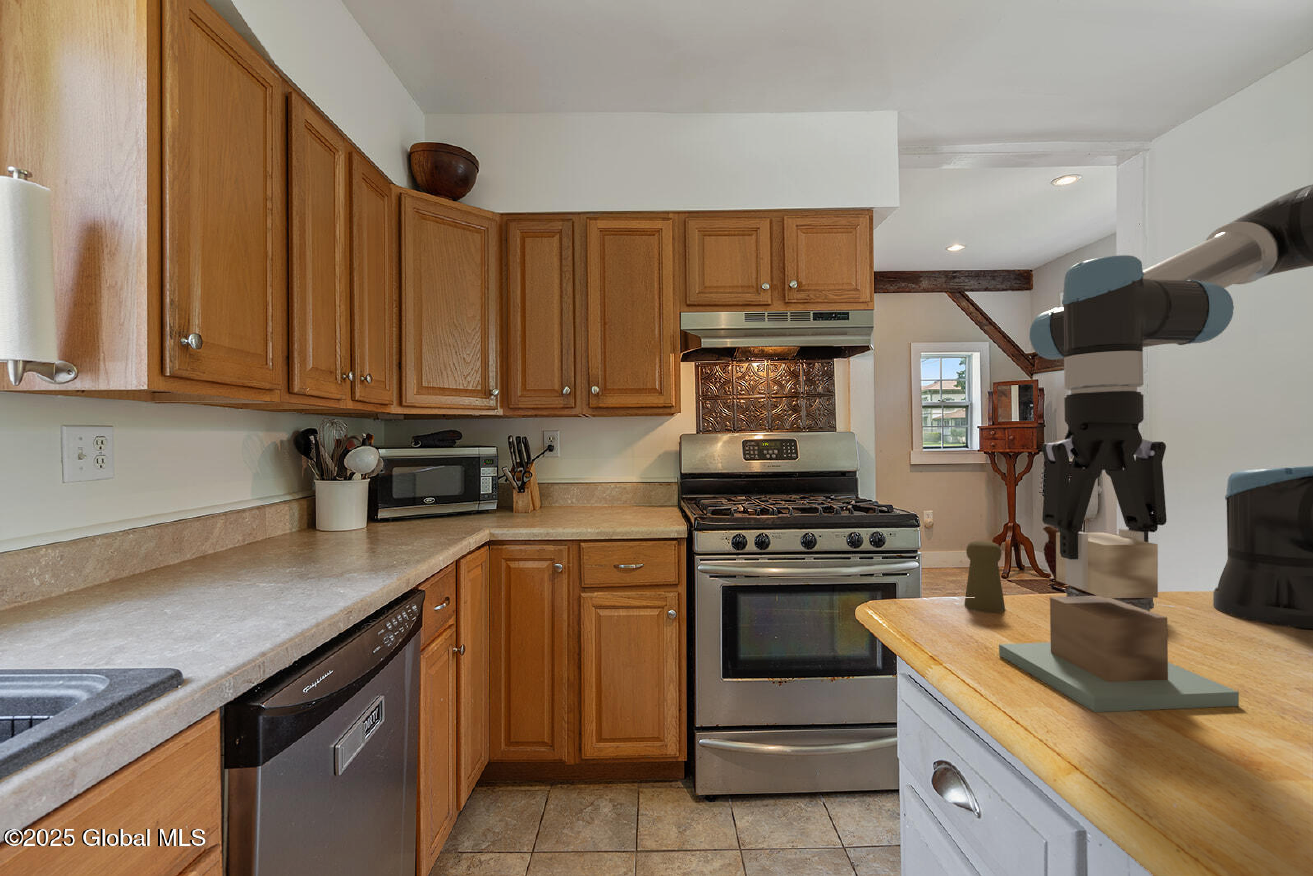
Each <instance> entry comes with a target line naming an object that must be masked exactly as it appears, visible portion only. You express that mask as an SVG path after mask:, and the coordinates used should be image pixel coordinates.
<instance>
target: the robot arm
mask: <svg viewBox="0 0 1313 876" xmlns="http://www.w3.org/2000/svg"><path fill="white" fill-rule="evenodd" d="M1309 267H1310V268H1311V267H1313V183H1312V184H1310V185H1307V186H1304V187H1300V188H1298V189H1295V190H1292V191H1290V192H1288V193H1286V194H1284V195H1281V196H1279V197H1277V198H1276V199H1273V200H1271V201H1269V202H1267V203H1264V204H1263V205H1261V206H1259V207H1257V208H1255V209H1253V210H1252V211H1249V212H1248V213H1246V214H1244V215H1242V216H1239V217H1237V218H1236V219H1234V220H1232V221H1230V222H1228V223H1225V224H1224V225H1222V226H1220V227H1218V228H1216V229H1215V230H1213V231H1212V233H1210V234H1209V235H1208V236H1207V238H1206V239H1205V241H1204V242H1201V243H1199V244H1197V245H1195V246H1192V247H1191V248H1189V249H1186V250H1184V251H1181V252H1180V253H1178V254H1176V255H1174V256H1172V257H1169V258H1167V259H1165V260H1163V261H1160V262H1159V263H1156V264H1154V265H1152V266H1150V267H1148V268H1146V269H1143V263H1142V261H1141V260H1140V258H1138V257H1136V256H1134V255H1127V254H1126V255H1125V254H1123V255H1120V254H1119V255H1109V256H1103V257H1097V258H1092V259H1088V260H1085V261H1081V262H1078V263H1076V264H1074V265H1072V266H1071V267H1069V268H1068V269H1067V271H1065V275H1064V281H1063V282H1064V283H1063V293H1062V295H1063V296H1062V300H1061V304H1062V307H1061V306H1056V307H1054V308H1052V309H1051V310H1047V311H1045V312H1042V313H1040V314H1039V315H1037V316H1036V317H1035V319H1033V321H1032V323H1031V325H1030V328H1029V341H1030V343H1031V344H1030V345H1031V346H1032V349H1033V350H1034V352H1035V353H1036V354H1037V355H1038V356H1040V357H1041V358H1044V359H1046V360H1053V361H1055V360H1063V365H1064V367H1063V369H1064V371H1063V372H1064V373H1063V375H1064V379H1063V380H1064V389H1065V390H1067V391H1070V393H1069V394H1067V395H1066V397H1064V398H1063V400H1064V403H1063V404H1064V422H1065V424H1066V425H1067V426H1068V427H1067V432H1066V435H1065V437H1064V439H1062V440H1060V441H1056V442H1045V443H1043V444H1042V445H1041V450H1042V451H1041V452H1042V455H1043V458H1044V461H1045V466H1044V467H1045V469H1044V485H1043V487H1044V488H1043V502H1042V503H1043V505H1042V506H1043V507H1042V518H1041V519H1042V523H1043V524H1044V525H1046V526H1052V527H1054V528H1056V529H1058V530H1059V532H1060V554H1061V557H1063V558H1065V584H1066V585H1067V584H1068V585H1067V586H1069V585H1071V586H1074V587H1077V588H1080V589H1088V533H1089V532H1084V531H1082V528H1083V524H1084V521H1085V518H1086V515H1087V512H1088V511H1087V510H1088V508H1089V506H1090V505H1089V504H1090V501H1091V499H1092V495H1093V491H1094V488H1095V484H1096V481H1097V480H1098V478H1100V477H1101V475H1102V473H1103V471H1105V474H1106V475H1107V476H1108V477H1109V478H1110V481H1111V483H1112V486H1113V489H1114V493H1115V496H1116V500H1117V503H1118V506H1119V509H1120V512H1121V515H1122V518H1123V522H1124V524H1125V528H1118V535H1119V536H1121V537H1126V538H1131V539H1135V540H1140V541H1145V542H1149V533H1155V532H1157V531H1158V529H1159V526H1164V525H1165V524H1166V523H1167V509H1166V495H1165V482H1164V480H1165V479H1164V468H1163V460H1164V456H1165V453H1166V449H1167V445H1166V444H1165V442H1163V441H1152V440H1148V439H1144V438H1143V437H1142V434H1141V432H1140V429H1139V425H1140V423H1141V424H1142V422H1143V421H1144V419H1145V418H1144V417H1145V416H1144V413H1145V412H1144V411H1145V409H1144V408H1145V407H1144V394H1142V391H1138V388H1140V387H1142V386H1144V385H1145V384H1144V383H1145V382H1144V348H1147V347H1153V346H1161V345H1171V344H1174V345H1177V346H1184V345H1185V346H1186V345H1190V344H1201V343H1205V342H1208V341H1209V342H1210V341H1211V340H1213V339H1215V338H1216V337H1218V336H1219V335H1221V334H1222V333H1223V332H1224V331H1225V330H1226V329H1227V327H1228V326H1229V324H1230V323H1231V321H1232V318H1233V317H1234V316H1233V315H1234V309H1235V307H1234V300H1233V298H1232V295H1231V294H1230V292H1229V291H1228V290H1227V289H1226V288H1228V287H1229V286H1230V287H1231V286H1232V285H1247V284H1250V283H1253V282H1255V281H1258V280H1259V279H1263V278H1264V277H1268V276H1270V275H1274V274H1278V273H1283V272H1284V273H1285V272H1288V271H1289V272H1290V271H1293V270H1300V269H1304V268H1309ZM1071 457H1072V460H1070V458H1071ZM1070 461H1071V462H1070ZM1224 497H1225V498H1224V500H1225V501H1226V542H1227V558H1226V559H1227V560H1226V562H1225V566H1224V567H1223V570H1222V573H1221V575H1220V578H1219V580H1218V583H1217V587H1215V588H1214V590H1213V593H1212V597H1213V598H1212V599H1213V601H1212V602H1213V603H1212V605H1213V607H1214V608H1215V609H1217V610H1219V611H1221V612H1223V613H1226V614H1228V615H1232V616H1235V617H1238V618H1243V619H1247V620H1252V621H1257V622H1260V623H1266V624H1271V625H1279V626H1285V627H1290V628H1291V627H1292V628H1301V629H1302V628H1303V629H1312V630H1313V466H1308V465H1307V466H1291V467H1276V468H1273V467H1272V468H1259V469H1258V468H1257V469H1256V468H1255V469H1247V470H1246V469H1244V470H1237V471H1234V472H1233V473H1231V474H1230V475H1229V476H1228V478H1227V484H1226V494H1225V495H1224ZM1126 527H1127V528H1126Z"/></svg>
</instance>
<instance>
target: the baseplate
mask: <svg viewBox="0 0 1313 876" xmlns="http://www.w3.org/2000/svg"><path fill="white" fill-rule="evenodd" d="M999 655H1000V656H999ZM998 656H999V657H1001V658H1003V659H1004V660H1006V659H1007V660H1006V661H1008V662H1009V661H1010V663H1011V664H1012V665H1014V664H1015V666H1016V665H1017V666H1016V667H1018V668H1020V669H1021V670H1023V671H1025V672H1026V673H1028V674H1029V673H1030V675H1031V676H1032V677H1035V678H1036V679H1038V680H1040V681H1041V682H1043V683H1044V684H1046V685H1048V686H1050V687H1051V688H1053V689H1055V690H1056V691H1058V692H1060V693H1062V694H1063V695H1065V696H1066V697H1068V698H1070V699H1072V700H1074V701H1075V702H1076V703H1078V704H1080V705H1081V706H1083V707H1085V708H1087V709H1089V710H1090V711H1092V712H1094V713H1101V712H1102V713H1104V712H1124V711H1126V712H1127V711H1128V712H1129V711H1146V710H1147V711H1149V710H1150V711H1153V710H1171V709H1172V710H1173V709H1175V710H1176V709H1195V708H1196V709H1197V708H1198V709H1199V708H1200V709H1201V708H1220V707H1221V708H1222V707H1223V708H1224V707H1240V693H1239V691H1238V690H1235V689H1233V688H1231V687H1228V686H1225V685H1223V684H1221V683H1219V682H1217V681H1215V680H1212V679H1209V678H1206V677H1204V676H1201V675H1200V674H1198V673H1195V672H1192V671H1190V670H1187V669H1185V668H1183V667H1181V666H1178V665H1175V664H1173V663H1171V662H1169V661H1168V680H1147V681H1120V682H1107V681H1105V680H1103V679H1101V678H1099V677H1097V676H1095V675H1093V674H1091V673H1090V672H1088V671H1086V670H1084V669H1082V668H1080V667H1078V666H1076V665H1074V664H1072V663H1070V662H1068V661H1066V660H1064V659H1063V658H1061V657H1059V656H1057V655H1055V654H1053V653H1051V641H1049V642H1027V643H1026V642H1024V643H1023V642H1022V643H1000V644H998Z"/></svg>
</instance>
